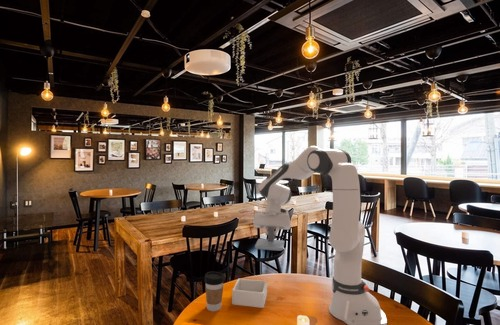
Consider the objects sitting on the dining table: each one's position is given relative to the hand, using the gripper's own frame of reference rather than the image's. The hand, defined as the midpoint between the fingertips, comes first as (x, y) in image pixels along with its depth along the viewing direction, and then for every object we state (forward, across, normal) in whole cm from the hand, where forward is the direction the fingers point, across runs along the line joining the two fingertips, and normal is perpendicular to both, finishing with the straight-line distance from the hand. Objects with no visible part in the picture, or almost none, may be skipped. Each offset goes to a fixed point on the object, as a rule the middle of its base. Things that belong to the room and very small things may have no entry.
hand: (270, 234), depth 142 cm
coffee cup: (+40, -21, -4) cm, 45 cm away
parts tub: (+33, -7, +2) cm, 34 cm away
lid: (+6, 0, +1) cm, 6 cm away
